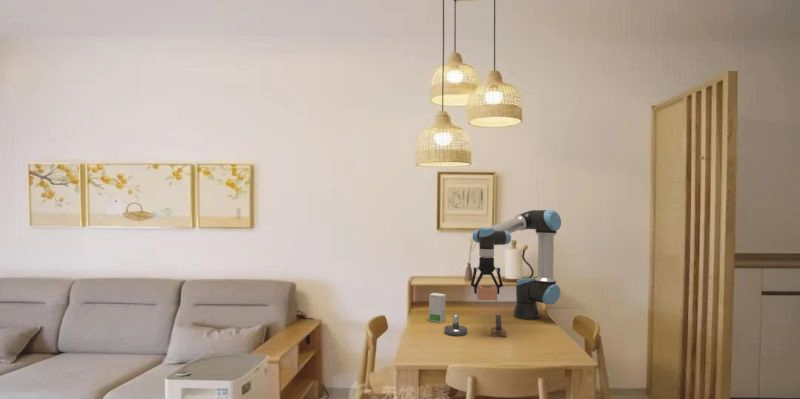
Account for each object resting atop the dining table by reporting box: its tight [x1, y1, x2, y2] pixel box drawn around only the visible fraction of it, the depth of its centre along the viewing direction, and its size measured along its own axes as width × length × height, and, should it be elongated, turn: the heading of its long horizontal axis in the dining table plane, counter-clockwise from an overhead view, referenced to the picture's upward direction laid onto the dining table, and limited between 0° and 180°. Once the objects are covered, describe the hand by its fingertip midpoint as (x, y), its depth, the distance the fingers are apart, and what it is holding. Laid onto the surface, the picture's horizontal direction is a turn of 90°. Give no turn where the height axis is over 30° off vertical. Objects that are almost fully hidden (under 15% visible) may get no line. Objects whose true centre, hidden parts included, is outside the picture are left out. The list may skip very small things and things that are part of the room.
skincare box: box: [428, 292, 447, 323], centre depth 248 cm, size 8×7×16 cm
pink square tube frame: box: [477, 284, 498, 301], centre depth 220 cm, size 9×9×6 cm
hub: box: [443, 313, 468, 337], centre depth 223 cm, size 12×12×10 cm
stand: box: [490, 314, 508, 338], centre depth 219 cm, size 7×7×10 cm
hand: (486, 300), depth 220 cm, fingers closed on pink square tube frame, 9 cm apart
